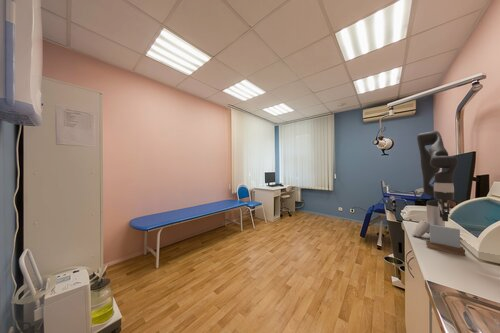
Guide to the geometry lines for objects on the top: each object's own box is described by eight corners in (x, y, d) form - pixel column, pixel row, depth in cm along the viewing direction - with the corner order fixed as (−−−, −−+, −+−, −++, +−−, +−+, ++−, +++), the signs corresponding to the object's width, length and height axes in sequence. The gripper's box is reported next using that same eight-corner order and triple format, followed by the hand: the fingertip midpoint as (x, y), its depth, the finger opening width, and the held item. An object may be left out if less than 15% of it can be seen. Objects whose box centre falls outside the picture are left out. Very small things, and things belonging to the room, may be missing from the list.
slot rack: (426, 244, 101) (426, 239, 101) (463, 252, 92) (463, 246, 92) (426, 247, 98) (426, 242, 98) (465, 255, 88) (465, 250, 88)
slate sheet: (430, 246, 99) (429, 224, 99) (459, 252, 92) (459, 229, 92) (430, 247, 98) (430, 225, 98) (460, 253, 90) (459, 229, 91)
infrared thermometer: (446, 233, 109) (427, 221, 109) (434, 248, 110) (415, 236, 110) (438, 230, 114) (420, 218, 113) (427, 244, 115) (409, 232, 114)
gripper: (432, 189, 103) (432, 215, 103) (435, 191, 92) (435, 220, 92) (451, 190, 98) (451, 217, 98) (456, 192, 87) (457, 223, 87)
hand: (443, 219), depth 95 cm, fingers open, 8 cm apart
